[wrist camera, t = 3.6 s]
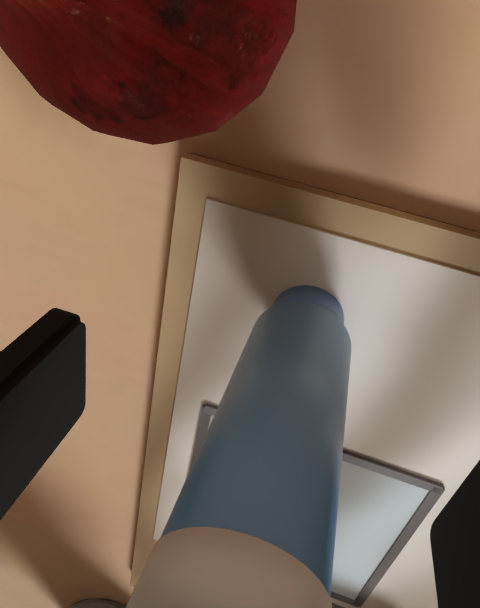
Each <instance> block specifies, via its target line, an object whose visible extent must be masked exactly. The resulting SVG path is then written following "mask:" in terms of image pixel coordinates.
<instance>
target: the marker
mask: <svg viewBox="0 0 480 608" xmlns="http://www.w3.org/2000/svg"><path fill="white" fill-rule="evenodd" d="M350 361H351V339H350V336H349V333H348V331H347V329H346V327H345V326H344V312H343V309H342V307H341V305H340V303H339V302H338V301H337V299H336V298H335V297H334V296H332V295H331V294H330V293H329V292H327V291H325V290H323V289H321V288H318V287H314V286H308V285H301V286H295V287H292V288H289V289H287V290H285V291H284V292H282V293H281V294H280V295H279V296H278V297H277V298H276V300H275V302H274V303H273V306H272V307H270V308H269V309H267V310H266V311H264V312H263V313H262V314H261V315H260V316H259V318H258V319H257V320H256V322H255V324H254V326H253V329H252V331H251V333H250V335H249V338H248V340H247V342H246V344H245V347H244V349H243V351H242V354H241V356H240V358H239V360H238V363H237V365H236V367H235V369H234V372H233V374H232V376H231V378H230V381H229V383H228V385H227V388H226V390H225V392H224V394H223V397H222V399H221V401H220V403H219V406H218V408H217V410H216V412H215V415H214V417H213V419H212V422H211V424H210V426H209V428H208V431H207V433H206V435H205V437H204V440H203V442H202V444H201V447H200V449H199V451H198V453H197V456H196V458H195V460H194V462H193V465H192V467H191V469H190V471H189V474H188V476H187V478H186V481H185V483H184V485H183V487H182V490H181V492H180V494H179V496H178V499H177V501H176V503H175V505H174V508H173V510H172V512H171V515H170V517H169V519H168V521H167V524H166V526H165V528H164V530H163V533H162V535H161V537H160V539H159V540H158V541H157V542H156V543H155V545H154V546H153V548H152V550H151V552H150V555H149V557H148V559H147V561H146V564H145V566H144V568H143V570H142V573H141V575H140V577H139V579H138V581H137V584H136V586H135V588H134V590H133V593H132V595H131V597H130V599H129V602H128V604H127V606H126V608H332V603H331V599H330V594H331V583H332V571H333V559H334V548H335V536H336V524H337V513H338V501H339V490H340V478H341V466H342V455H343V443H344V431H345V420H346V408H347V396H348V385H349V373H350Z"/></svg>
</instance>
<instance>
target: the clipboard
mask: <svg viewBox="0 0 480 608" xmlns="http://www.w3.org/2000/svg"><path fill="white" fill-rule="evenodd" d="M301 285H308V286H314V287H318V288H321V289H323V290H325V291H327V292H329V293H330V294H331V295H332V296H334V297H335V298H336V299H337V301H338V302H339V303H340V305H341V307H342V309H343V312H344V326H345V327H346V329H347V331H348V333H349V336H350V339H351V361H350V373H349V385H348V396H347V408H346V420H345V431H344V443H343V455H342V466H341V478H340V490H339V501H338V513H337V524H336V536H335V548H334V559H333V571H332V583H331V594H330V599H331V602H332V603H335V604H337V605H340V606H342V607H345V608H438V601H437V593H436V584H435V576H434V568H433V559H432V551H431V542H430V530H431V526H432V523H433V522H434V520H435V519H436V517H437V516H438V515H439V513H440V512H441V511H442V509H443V508H444V507H445V505H446V504H447V503H448V501H449V500H450V499H451V497H452V496H453V495H454V493H455V492H456V491H457V489H458V488H459V487H460V485H461V484H462V483H463V481H464V480H465V479H466V477H467V476H468V475H469V473H470V472H471V471H472V469H473V468H474V467H475V465H476V464H477V463H478V461H479V460H480V233H479V232H476V231H472V230H468V229H465V228H461V227H457V226H454V225H450V224H446V223H443V222H439V221H435V220H432V219H428V218H424V217H421V216H417V215H413V214H410V213H406V212H402V211H399V210H395V209H391V208H388V207H384V206H380V205H377V204H373V203H369V202H366V201H362V200H358V199H355V198H351V197H347V196H344V195H340V194H336V193H333V192H329V191H326V190H322V189H318V188H315V187H311V186H307V185H304V184H300V183H296V182H293V181H289V180H285V179H282V178H278V177H274V176H271V175H267V174H263V173H260V172H256V171H252V170H249V169H245V168H241V167H238V166H234V165H230V164H227V163H223V162H219V161H216V160H212V159H208V158H205V157H201V156H197V155H194V154H190V153H187V154H186V155H184V156H182V157H181V162H180V171H179V179H178V188H177V196H176V204H175V213H174V221H173V229H172V238H171V246H170V255H169V263H168V271H167V280H166V288H165V297H164V305H163V313H162V322H161V330H160V338H159V347H158V355H157V364H156V372H155V380H154V389H153V397H152V405H151V414H150V422H149V431H148V439H147V447H146V456H145V464H144V472H143V481H142V489H141V498H140V506H139V514H138V523H137V531H136V539H135V548H134V556H133V565H132V573H131V581H130V586H133V587H135V586H136V584H137V581H138V579H139V577H140V575H141V573H142V570H143V568H144V566H145V564H146V561H147V559H148V557H149V555H150V552H151V550H152V548H153V546H154V545H155V543H156V542H157V541H158V540H159V539H160V537H161V535H162V533H163V530H164V528H165V526H166V524H167V521H168V519H169V517H170V515H171V512H172V510H173V508H174V505H175V503H176V501H177V499H178V496H179V494H180V492H181V490H182V487H183V485H184V483H185V481H186V478H187V476H188V474H189V471H190V469H191V467H192V465H193V462H194V460H195V458H196V456H197V453H198V451H199V449H200V447H201V444H202V442H203V440H204V437H205V435H206V433H207V431H208V428H209V426H210V424H211V422H212V419H213V417H214V415H215V412H216V410H217V408H218V406H219V403H220V401H221V399H222V397H223V394H224V392H225V390H226V388H227V385H228V383H229V381H230V378H231V376H232V374H233V372H234V369H235V367H236V365H237V363H238V360H239V358H240V356H241V354H242V351H243V349H244V347H245V344H246V342H247V340H248V338H249V335H250V333H251V331H252V329H253V326H254V324H255V322H256V320H257V319H258V318H259V316H260V315H261V314H262V313H263V312H264V311H266V310H267V309H269V308H270V307H272V306H273V303H274V302H275V300H276V298H277V297H278V296H279V295H280V294H281V293H282V292H284V291H285V290H287V289H289V288H292V287H295V286H301Z"/></svg>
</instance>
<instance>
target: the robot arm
mask: <svg viewBox="0 0 480 608" xmlns="http://www.w3.org/2000/svg"><path fill="white" fill-rule="evenodd" d="M85 389H86V327H85V324H84V323H81V321H80V317H79V316H78V315H77V314H73V313H70V312H67V311H64V310H61V309H58V308H53V309H51V310H50V311H48V312H47V313H46V314H45V315H44V316H43V317H41V318H40V319H39V320H38V321H37V322H35V323H34V324H33V325H32V326H31V327H30V328H28V329H27V330H26V331H25V332H24V333H22V334H21V335H20V336H19V337H18V338H17V339H15V340H14V341H13V342H12V343H11V344H9V345H8V346H7V347H6V348H5V349H4V350H2V351H0V520H1V519H2V518H3V516H4V515H5V514H6V512H7V511H8V510H9V508H10V507H11V506H12V505H13V503H14V502H15V501H16V499H17V498H18V497H19V495H20V494H21V493H22V492H23V490H24V489H25V488H26V486H27V485H28V484H29V483H30V481H31V480H32V479H33V477H34V476H35V475H36V473H37V472H38V471H39V470H40V468H41V467H42V466H43V464H44V463H45V462H46V460H47V459H48V458H49V457H50V455H51V454H52V453H53V451H54V450H55V449H56V447H57V446H58V445H59V444H60V442H61V441H62V440H63V438H64V437H65V436H66V434H67V433H68V432H69V431H70V429H71V428H72V427H73V425H74V424H75V423H76V421H77V420H78V419H79V417H80V416H81V414H82V412H83V410H84V407H85ZM430 542H431V551H432V559H433V568H434V576H435V584H436V593H437V601H438V608H480V460H479V461H478V463H477V464H476V465H475V467H474V468H473V469H472V471H471V472H470V473H469V475H468V476H467V477H466V479H465V480H464V481H463V483H462V484H461V485H460V487H459V488H458V489H457V491H456V492H455V493H454V495H453V496H452V497H451V499H450V500H449V501H448V503H447V504H446V505H445V507H444V508H443V509H442V511H441V512H440V513H439V515H438V516H437V517H436V519H435V520H434V522H433V523H432V526H431V530H430Z"/></svg>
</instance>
